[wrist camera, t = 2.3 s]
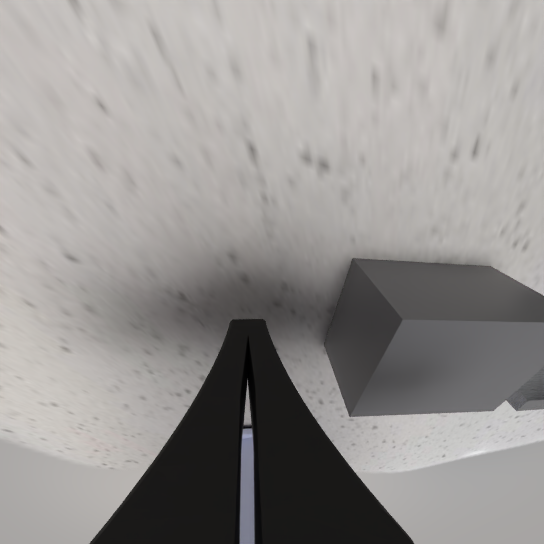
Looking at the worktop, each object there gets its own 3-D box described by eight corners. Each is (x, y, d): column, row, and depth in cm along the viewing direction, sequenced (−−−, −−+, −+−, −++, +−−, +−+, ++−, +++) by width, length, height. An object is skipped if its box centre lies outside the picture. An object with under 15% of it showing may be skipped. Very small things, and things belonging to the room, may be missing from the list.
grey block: (433, 342, 14) (492, 411, 11) (323, 341, 13) (349, 416, 10) (487, 264, 11) (593, 323, 8) (350, 256, 10) (403, 319, 7)
